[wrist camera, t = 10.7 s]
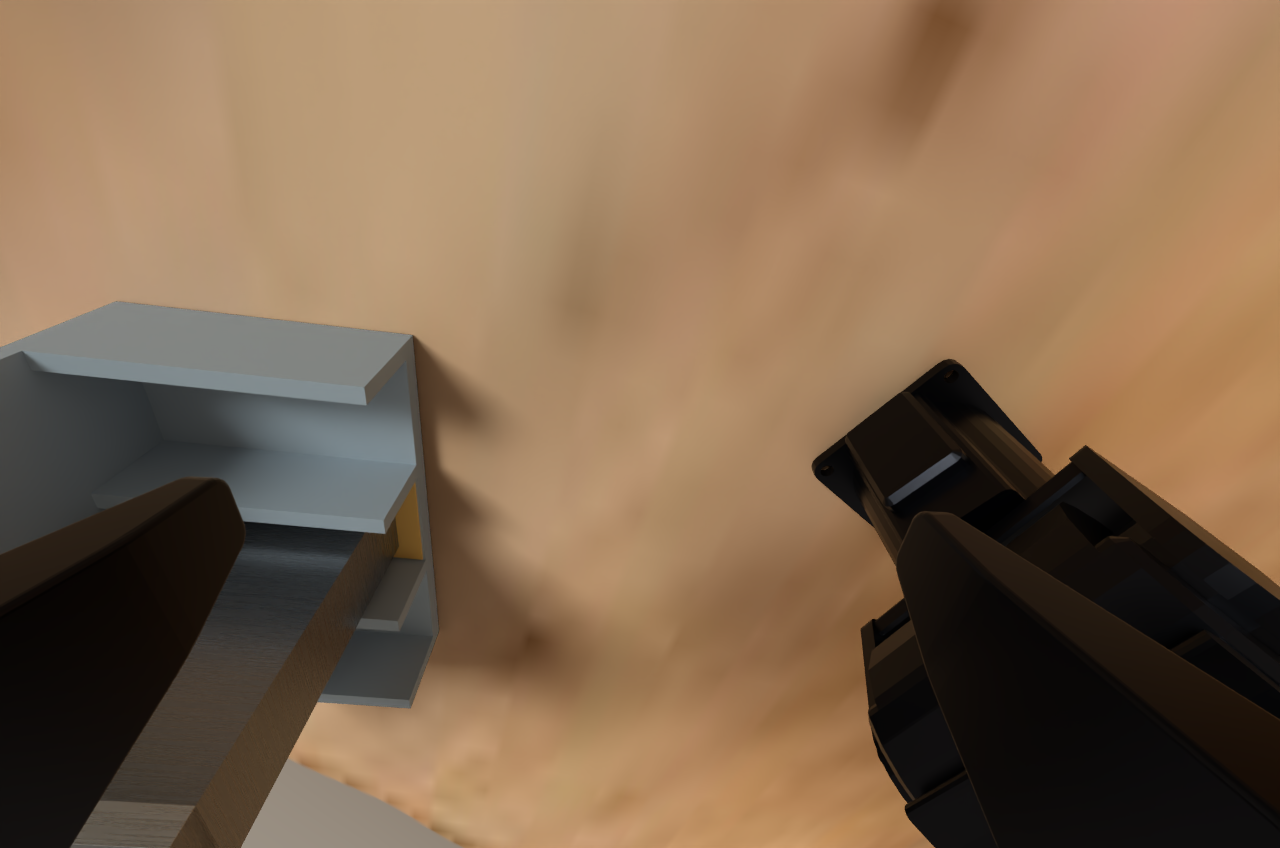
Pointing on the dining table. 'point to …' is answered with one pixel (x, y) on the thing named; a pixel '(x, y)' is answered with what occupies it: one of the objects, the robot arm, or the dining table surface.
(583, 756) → the dining table surface
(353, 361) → the rack
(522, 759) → the dining table surface
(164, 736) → the grey rectangular block
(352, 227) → the dining table surface
